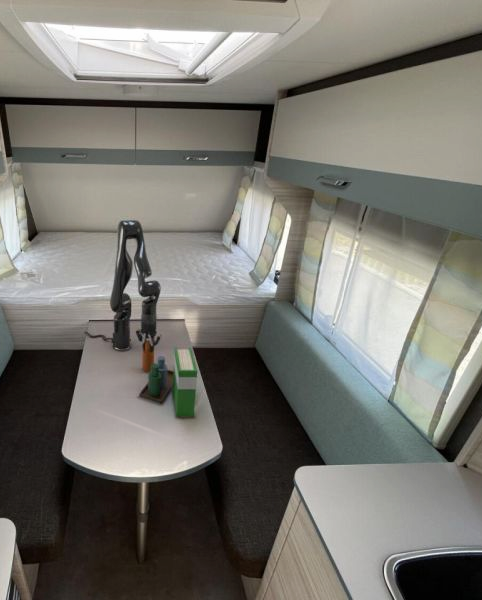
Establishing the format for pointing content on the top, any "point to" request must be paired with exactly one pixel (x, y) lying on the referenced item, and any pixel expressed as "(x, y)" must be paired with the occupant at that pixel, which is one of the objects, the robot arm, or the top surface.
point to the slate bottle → (162, 371)
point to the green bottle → (154, 381)
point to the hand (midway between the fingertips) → (148, 349)
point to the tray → (163, 392)
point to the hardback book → (184, 382)
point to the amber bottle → (147, 357)
